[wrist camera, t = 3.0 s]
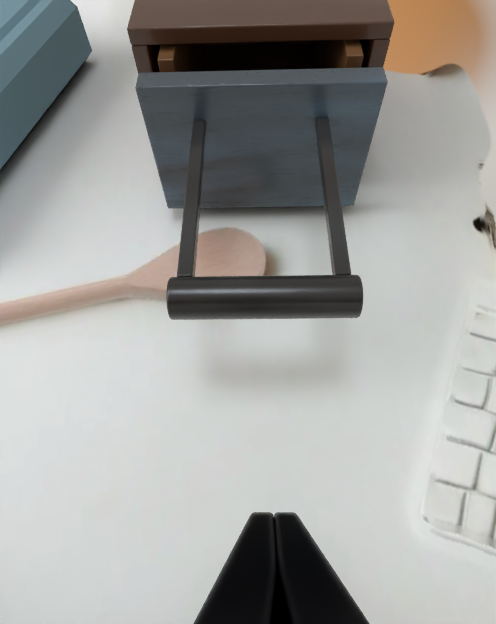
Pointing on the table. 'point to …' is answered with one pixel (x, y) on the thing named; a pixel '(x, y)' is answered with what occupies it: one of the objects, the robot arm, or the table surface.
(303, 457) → the table surface
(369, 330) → the table surface
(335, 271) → the drawer
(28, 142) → the table surface
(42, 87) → the book
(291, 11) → the cabinet
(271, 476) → the table surface
